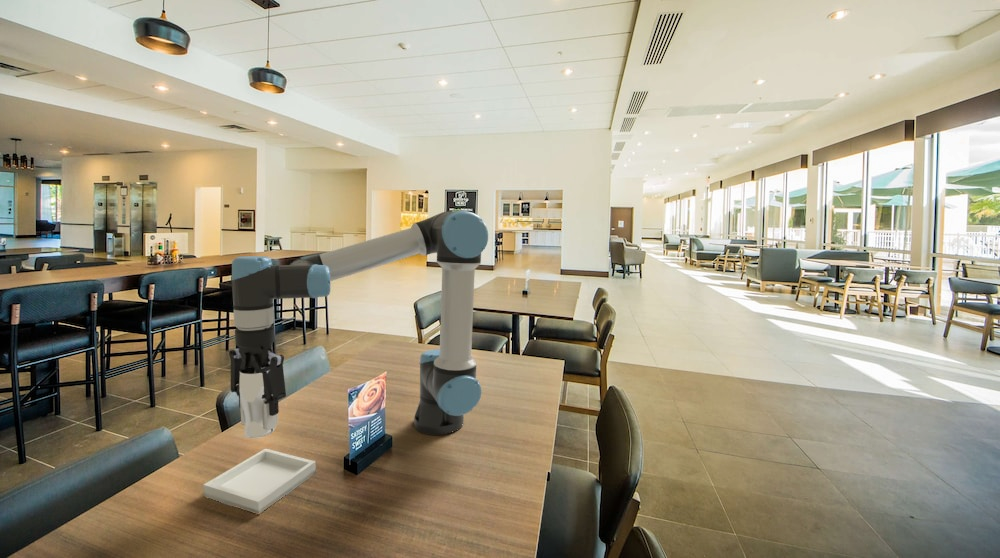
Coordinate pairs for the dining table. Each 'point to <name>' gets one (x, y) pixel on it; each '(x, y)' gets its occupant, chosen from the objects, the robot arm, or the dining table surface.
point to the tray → (260, 480)
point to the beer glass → (253, 403)
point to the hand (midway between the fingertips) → (259, 424)
